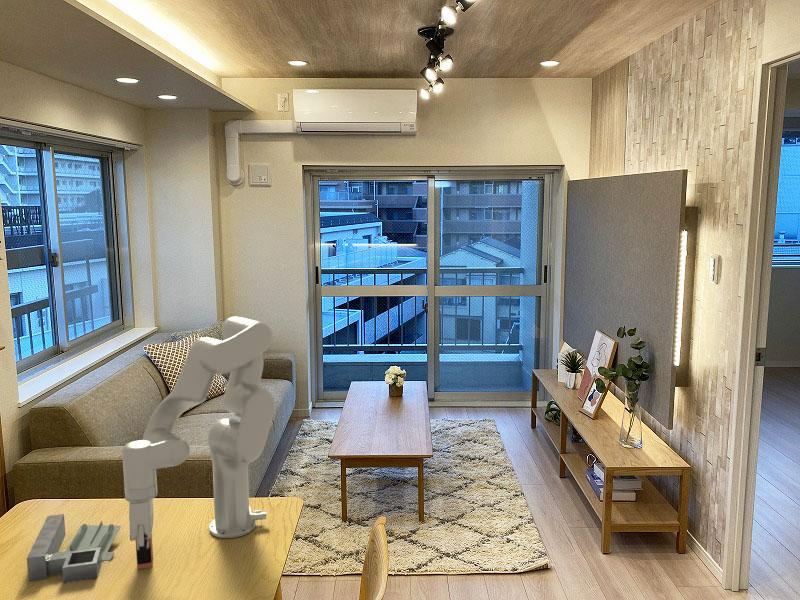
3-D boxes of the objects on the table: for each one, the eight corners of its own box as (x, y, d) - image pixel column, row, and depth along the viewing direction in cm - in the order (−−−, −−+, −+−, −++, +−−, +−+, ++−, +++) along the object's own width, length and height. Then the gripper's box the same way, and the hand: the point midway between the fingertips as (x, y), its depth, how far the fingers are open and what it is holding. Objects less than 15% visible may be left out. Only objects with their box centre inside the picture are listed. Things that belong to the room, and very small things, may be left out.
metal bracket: (73, 518, 177) (128, 518, 177) (78, 533, 179) (132, 534, 179) (47, 559, 164) (106, 559, 164) (52, 576, 166) (111, 576, 166)
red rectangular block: (153, 559, 166) (151, 523, 165) (152, 566, 163) (149, 530, 162) (138, 561, 166) (136, 525, 164) (137, 569, 162) (134, 531, 161)
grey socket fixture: (111, 528, 182) (110, 508, 181) (97, 578, 158) (95, 555, 157) (49, 536, 178) (47, 515, 177) (25, 588, 154) (23, 565, 153)
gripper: (128, 478, 168) (132, 544, 171) (120, 507, 152) (125, 579, 155) (159, 475, 170) (162, 540, 173) (154, 503, 155) (158, 574, 157)
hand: (145, 557), depth 164 cm, fingers closed on red rectangular block, 3 cm apart
